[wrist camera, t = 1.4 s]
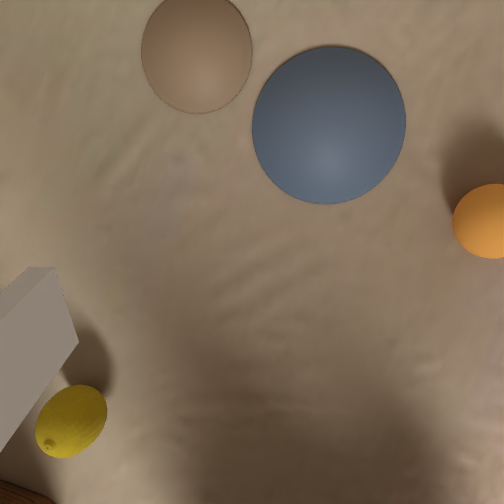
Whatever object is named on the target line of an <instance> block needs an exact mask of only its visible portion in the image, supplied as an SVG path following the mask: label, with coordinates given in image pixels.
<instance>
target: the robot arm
mask: <svg viewBox="0 0 504 504" xmlns="http://www.w3.org/2000/svg"><path fill="white" fill-rule="evenodd" d="M78 343H79V341H78V338H77V335H76V332H75V329H74V325H73V322H72V319H71V316H70V313H69V310H68V307H67V304H66V301H65V298H64V295H63V292H62V289H61V286H60V283H59V280H58V277H57V274H56V271H55V268H54V267H28V268H27V269H26V270H25V271H24V272H23V273H22V274H21V275H20V276H19V277H17V278H16V279H15V280H14V281H13V282H12V283H11V284H10V285H9V286H8V287H6V288H5V289H4V290H3V291H2V292H1V293H0V452H1V451H2V449H3V448H4V447H5V445H6V444H7V442H8V441H9V440H10V438H11V437H12V435H13V434H14V433H15V431H16V430H17V428H18V427H19V426H20V424H21V423H22V421H23V420H24V419H25V417H26V416H27V414H28V413H29V412H30V410H31V409H32V407H33V406H34V405H35V403H36V402H37V400H38V399H39V398H40V396H41V395H42V393H43V392H44V391H45V389H46V388H47V386H48V385H49V384H50V382H51V381H52V379H53V378H54V377H55V375H56V374H57V372H58V371H59V370H60V368H61V367H62V365H63V364H64V363H65V361H66V360H67V358H68V357H69V355H70V354H71V353H72V351H73V350H74V348H75V347H76V346H77V344H78Z"/></svg>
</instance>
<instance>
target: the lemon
mask: <svg viewBox="0 0 504 504" xmlns="http://www.w3.org/2000/svg"><path fill="white" fill-rule="evenodd" d="M106 419H107V405H106V401H105V399H104V397H103V396H102V394H101V393H100V392H99V391H98V390H97V389H95V388H93V387H91V386H87V385H74V386H70V387H67V388H65V389H63V390H61V391H60V392H58V393H57V394H55V395H54V396H53V397H52V398H51V399H50V400H49V401H48V402H47V403H46V404H45V406H44V407H43V409H42V411H41V412H40V414H39V416H38V419H37V421H36V425H35V438H36V441H37V444H38V445H39V447H40V448H41V450H42V451H43V452H44V453H46V454H48V455H50V456H52V457H56V458H68V457H71V456H74V455H77V454H79V453H80V452H82V451H83V450H84V449H86V448H87V447H89V446H90V445H91V444H92V443H93V442H94V441H95V439H96V438H97V437H98V436H99V434H100V433H101V431H102V429H103V427H104V425H105V422H106Z"/></svg>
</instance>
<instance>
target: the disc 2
mask: <svg viewBox="0 0 504 504" xmlns="http://www.w3.org/2000/svg"><path fill="white" fill-rule="evenodd" d="M405 128H406V116H405V109H404V104H403V100H402V97H401V94H400V92H399V89H398V87H397V85H396V84H395V82H394V80H393V79H392V77H391V76H390V75H389V73H388V72H387V71H386V70H385V69H384V68H383V67H382V66H381V65H380V64H379V63H378V62H376V61H375V60H373V59H372V58H370V57H369V56H367V55H365V54H362V53H360V52H358V51H355V50H351V49H347V48H341V47H325V48H318V49H314V50H310V51H307V52H304V53H302V54H300V55H298V56H296V57H294V58H292V59H291V60H289V61H288V62H286V63H285V64H284V65H282V66H281V67H280V68H279V69H278V70H277V71H276V72H275V73H274V74H273V75H272V76H271V78H270V79H269V80H268V82H267V83H266V85H265V86H264V88H263V90H262V91H261V94H260V96H259V98H258V100H257V104H256V107H255V110H254V116H253V125H252V134H253V143H254V147H255V152H256V154H257V157H258V160H259V162H260V164H261V166H262V168H263V170H264V171H265V172H266V174H267V175H268V177H269V178H270V179H271V180H272V181H273V182H274V183H275V184H276V185H277V186H278V187H279V188H280V189H281V190H283V191H284V192H286V193H287V194H289V195H291V196H293V197H295V198H297V199H300V200H303V201H306V202H310V203H315V204H336V203H341V202H346V201H349V200H352V199H354V198H357V197H359V196H361V195H363V194H365V193H366V192H368V191H369V190H371V189H372V188H373V187H375V186H376V185H377V184H378V183H379V182H380V181H381V180H382V179H383V178H384V177H385V176H386V175H387V174H388V172H389V171H390V169H391V168H392V167H393V165H394V163H395V161H396V160H397V158H398V155H399V153H400V150H401V148H402V144H403V140H404V136H405Z"/></svg>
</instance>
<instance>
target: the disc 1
mask: <svg viewBox="0 0 504 504" xmlns="http://www.w3.org/2000/svg"><path fill="white" fill-rule="evenodd" d="M141 57H142V65H143V69H144V72H145V75H146V78H147V80H148V82H149V84H150V86H151V87H152V89H153V90H154V92H155V93H156V94H157V95H158V96H159V97H160V98H161V99H162V100H163V101H164V102H165V103H167V104H168V105H170V106H171V107H173V108H176V109H178V110H180V111H184V112H188V113H198V114H199V113H207V112H211V111H214V110H217V109H219V108H221V107H223V106H225V105H226V104H228V103H229V102H230V101H232V100H233V99H234V98H235V97H236V96H237V94H238V93H239V92H240V90H241V89H242V87H243V86H244V84H245V82H246V80H247V78H248V75H249V72H250V68H251V63H252V43H251V38H250V34H249V31H248V28H247V26H246V24H245V22H244V20H243V18H242V17H241V15H240V14H239V12H238V11H237V10H236V9H235V8H234V7H233V6H232V5H231V4H230V3H229V2H228V1H226V0H167V1H165V2H164V3H163V4H162V5H160V6H159V7H158V9H157V10H156V11H155V12H154V13H153V15H152V16H151V18H150V20H149V22H148V24H147V26H146V28H145V31H144V35H143V39H142V47H141Z"/></svg>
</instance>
